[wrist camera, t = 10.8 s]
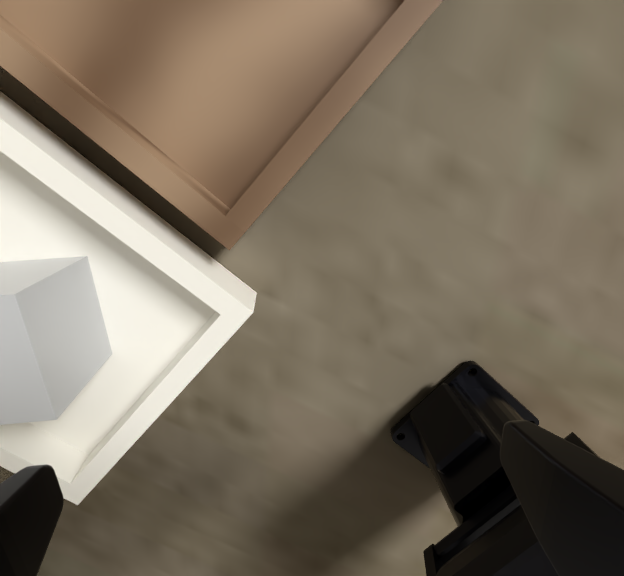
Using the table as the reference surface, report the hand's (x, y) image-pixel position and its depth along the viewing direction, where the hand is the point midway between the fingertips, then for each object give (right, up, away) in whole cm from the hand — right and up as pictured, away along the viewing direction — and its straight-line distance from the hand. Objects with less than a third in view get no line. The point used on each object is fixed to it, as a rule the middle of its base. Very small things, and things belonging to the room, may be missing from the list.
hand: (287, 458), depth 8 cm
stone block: (-12, +2, +10) cm, 16 cm away
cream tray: (-12, +2, +11) cm, 16 cm away
